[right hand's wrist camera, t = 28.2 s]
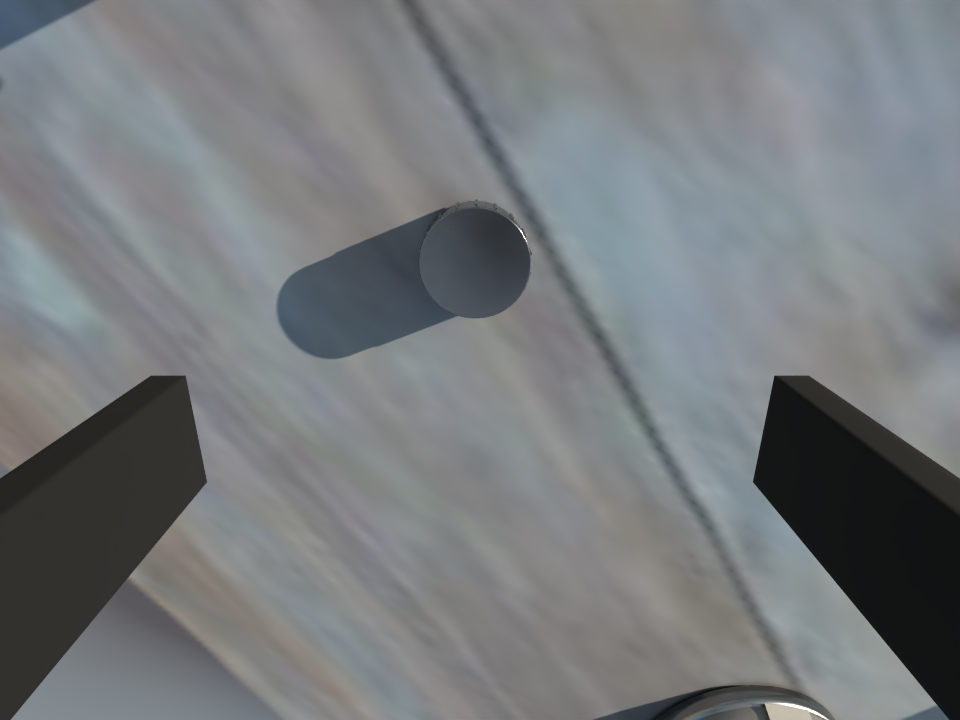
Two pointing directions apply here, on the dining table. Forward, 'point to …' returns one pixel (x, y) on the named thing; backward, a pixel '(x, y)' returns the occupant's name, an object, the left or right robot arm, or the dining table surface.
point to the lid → (475, 260)
